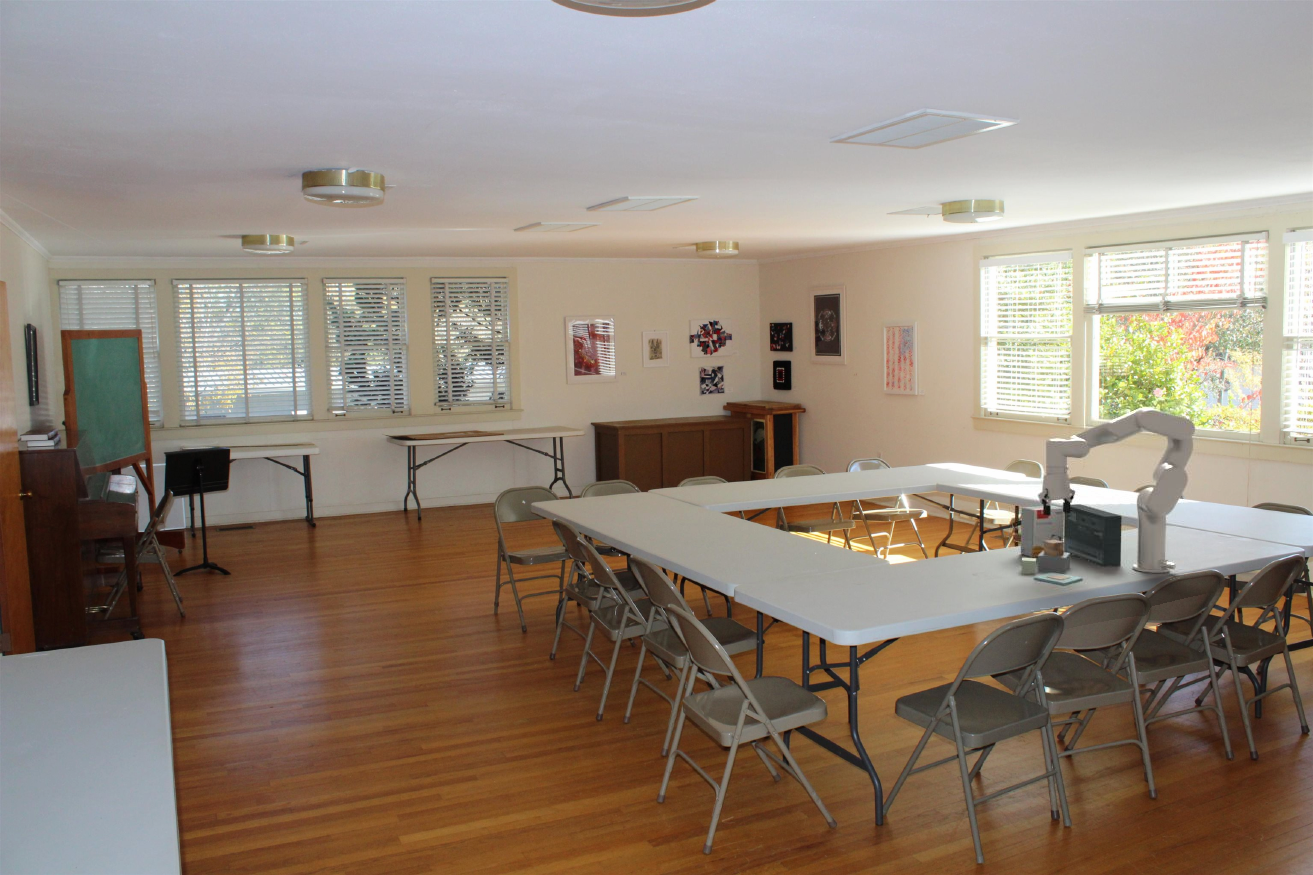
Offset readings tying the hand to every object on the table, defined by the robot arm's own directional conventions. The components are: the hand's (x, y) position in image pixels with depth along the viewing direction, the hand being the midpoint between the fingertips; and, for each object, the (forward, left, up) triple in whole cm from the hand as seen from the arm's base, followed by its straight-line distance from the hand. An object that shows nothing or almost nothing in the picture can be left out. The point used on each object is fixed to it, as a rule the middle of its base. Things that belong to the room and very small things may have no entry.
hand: (1056, 513), depth 361 cm
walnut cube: (0, +3, -16) cm, 16 cm away
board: (-11, +17, -21) cm, 30 cm away
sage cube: (+3, +14, -21) cm, 26 cm away
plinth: (-1, +3, -22) cm, 22 cm away
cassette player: (0, -25, -22) cm, 33 cm away
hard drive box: (+17, -17, -21) cm, 32 cm away
